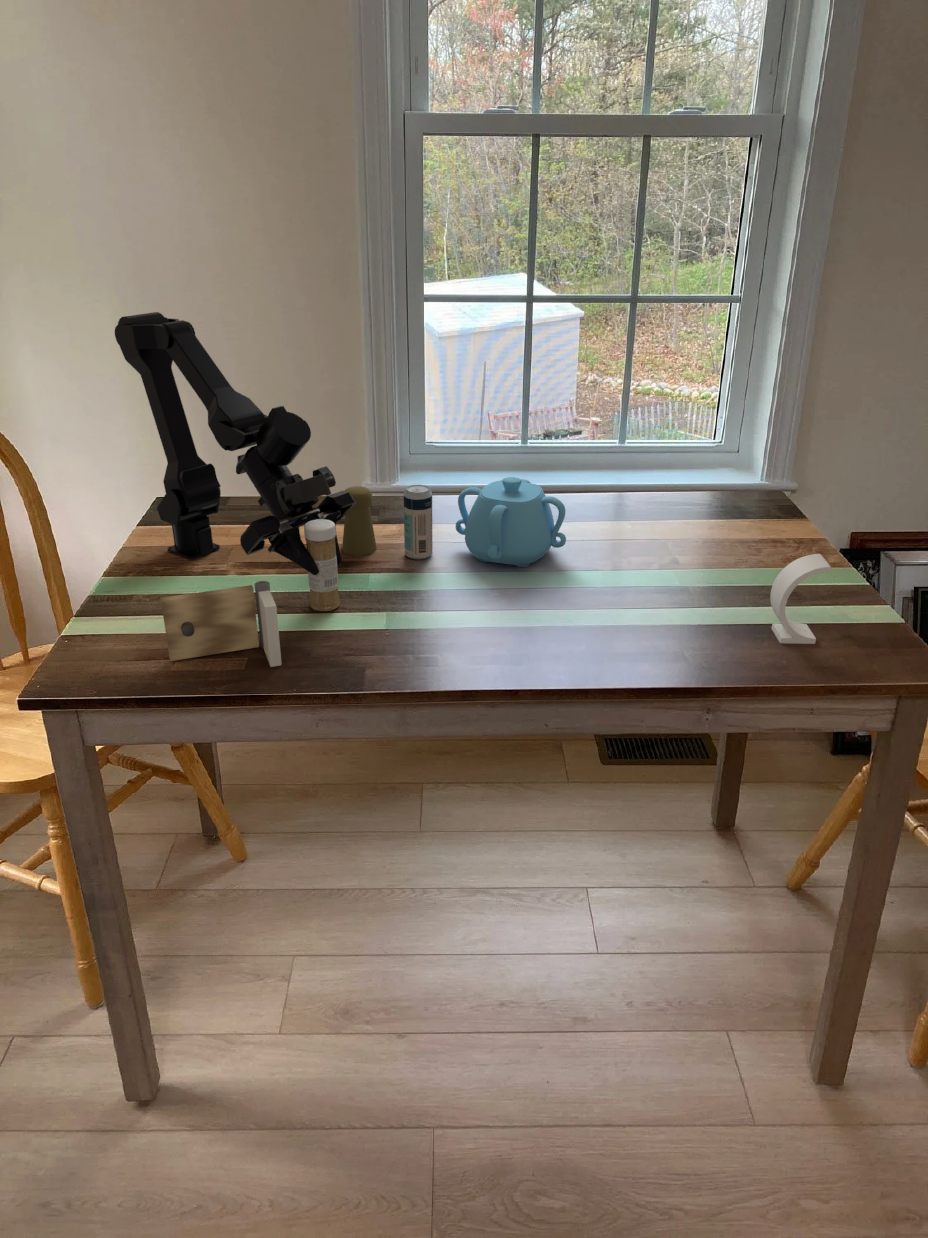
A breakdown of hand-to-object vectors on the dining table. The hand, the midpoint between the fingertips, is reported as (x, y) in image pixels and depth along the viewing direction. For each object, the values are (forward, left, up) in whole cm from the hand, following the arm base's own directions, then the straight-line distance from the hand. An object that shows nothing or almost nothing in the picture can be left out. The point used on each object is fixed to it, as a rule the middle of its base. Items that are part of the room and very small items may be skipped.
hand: (328, 569), depth 140 cm
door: (-2, -20, -6) cm, 21 cm away
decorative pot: (+10, +34, -7) cm, 36 cm away
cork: (-12, +20, -7) cm, 25 cm away
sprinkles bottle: (-1, 0, -7) cm, 7 cm away
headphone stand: (+59, +34, -7) cm, 68 cm away
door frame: (+3, -15, -7) cm, 17 cm away
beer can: (-2, +24, -7) cm, 25 cm away
